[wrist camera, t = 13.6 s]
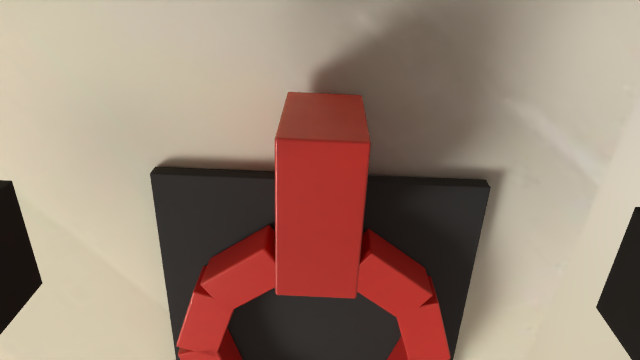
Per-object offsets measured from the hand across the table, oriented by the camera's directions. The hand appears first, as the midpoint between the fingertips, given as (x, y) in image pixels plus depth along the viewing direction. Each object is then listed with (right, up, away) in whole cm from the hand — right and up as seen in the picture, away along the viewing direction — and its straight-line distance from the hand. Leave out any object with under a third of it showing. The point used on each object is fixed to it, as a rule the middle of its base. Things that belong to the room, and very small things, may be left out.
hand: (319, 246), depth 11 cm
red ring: (0, -2, +8) cm, 9 cm away
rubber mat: (0, -5, +10) cm, 11 cm away
